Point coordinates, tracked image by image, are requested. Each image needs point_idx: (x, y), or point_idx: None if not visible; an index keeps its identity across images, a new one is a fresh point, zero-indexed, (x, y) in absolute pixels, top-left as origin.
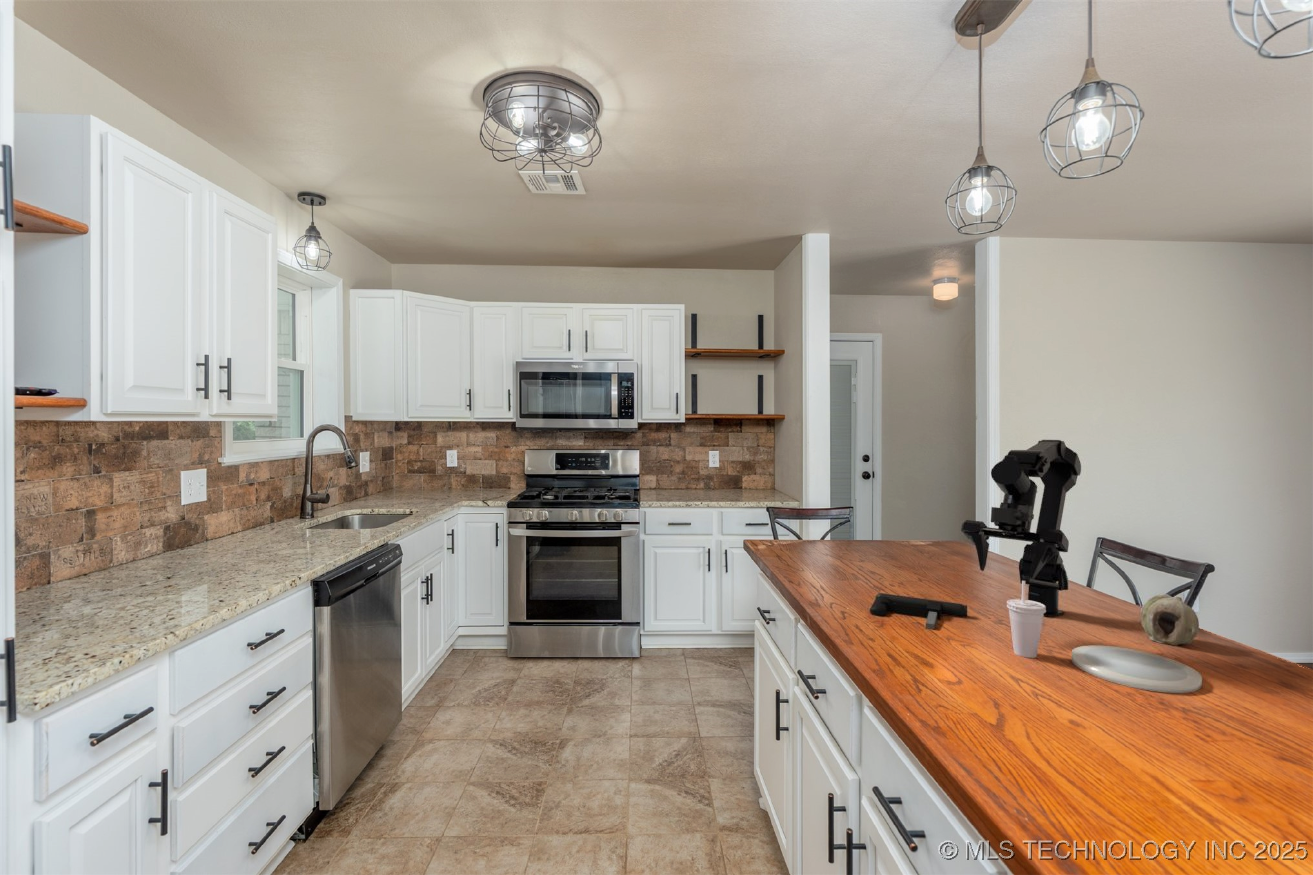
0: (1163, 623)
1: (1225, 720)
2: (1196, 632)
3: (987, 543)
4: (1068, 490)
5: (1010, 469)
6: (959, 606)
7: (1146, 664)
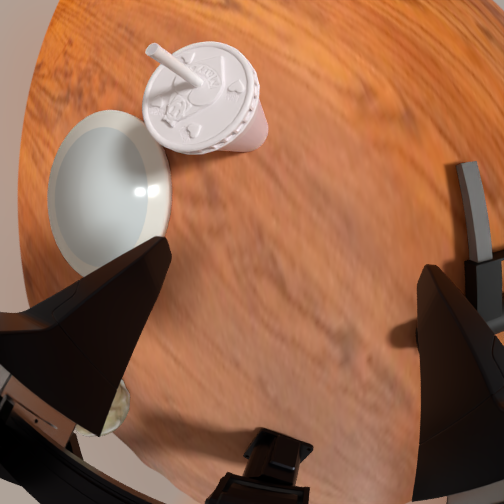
0: None
1: (48, 106)
2: None
3: (429, 489)
4: None
5: None
6: None
7: (82, 209)
